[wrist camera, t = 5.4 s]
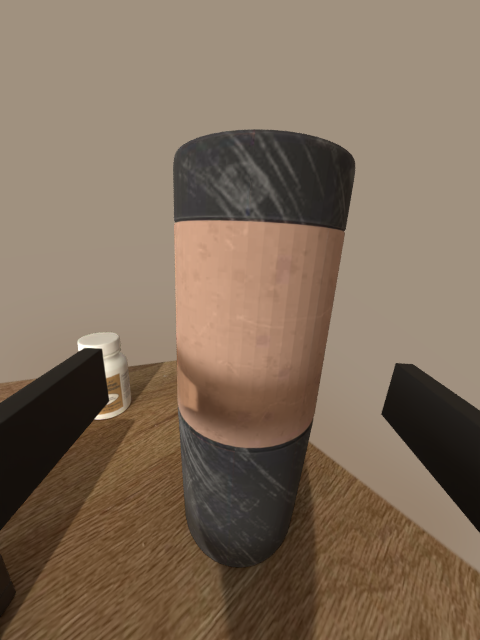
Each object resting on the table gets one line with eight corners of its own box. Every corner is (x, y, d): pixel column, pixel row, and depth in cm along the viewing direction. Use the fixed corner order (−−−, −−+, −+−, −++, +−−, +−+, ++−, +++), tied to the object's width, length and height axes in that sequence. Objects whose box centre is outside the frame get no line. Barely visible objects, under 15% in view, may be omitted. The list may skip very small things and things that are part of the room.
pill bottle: (75, 423, 22) (60, 348, 20) (94, 395, 26) (84, 330, 24) (125, 419, 23) (116, 347, 21) (136, 392, 27) (130, 329, 25)
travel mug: (317, 554, 14) (413, 151, 8) (182, 596, 12) (165, 102, 6) (270, 447, 21) (300, 195, 15) (180, 463, 19) (172, 179, 13)
